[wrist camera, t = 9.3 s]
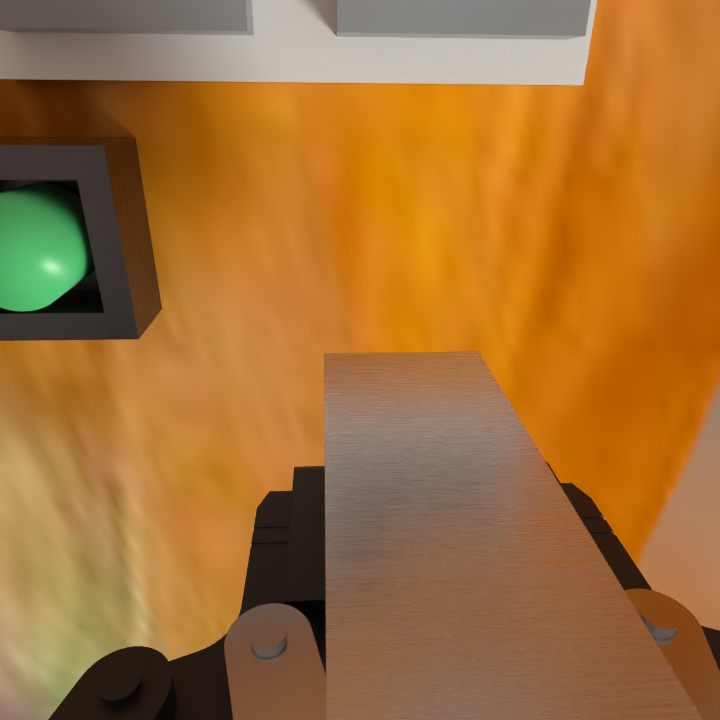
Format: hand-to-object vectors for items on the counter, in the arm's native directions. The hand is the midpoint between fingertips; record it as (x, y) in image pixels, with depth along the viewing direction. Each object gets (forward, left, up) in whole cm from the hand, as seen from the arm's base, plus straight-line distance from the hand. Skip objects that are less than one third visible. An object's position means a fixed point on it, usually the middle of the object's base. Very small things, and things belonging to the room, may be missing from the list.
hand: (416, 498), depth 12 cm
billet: (0, 0, -3) cm, 3 cm away
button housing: (-12, +3, -12) cm, 17 cm away
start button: (-12, +3, -11) cm, 16 cm away
